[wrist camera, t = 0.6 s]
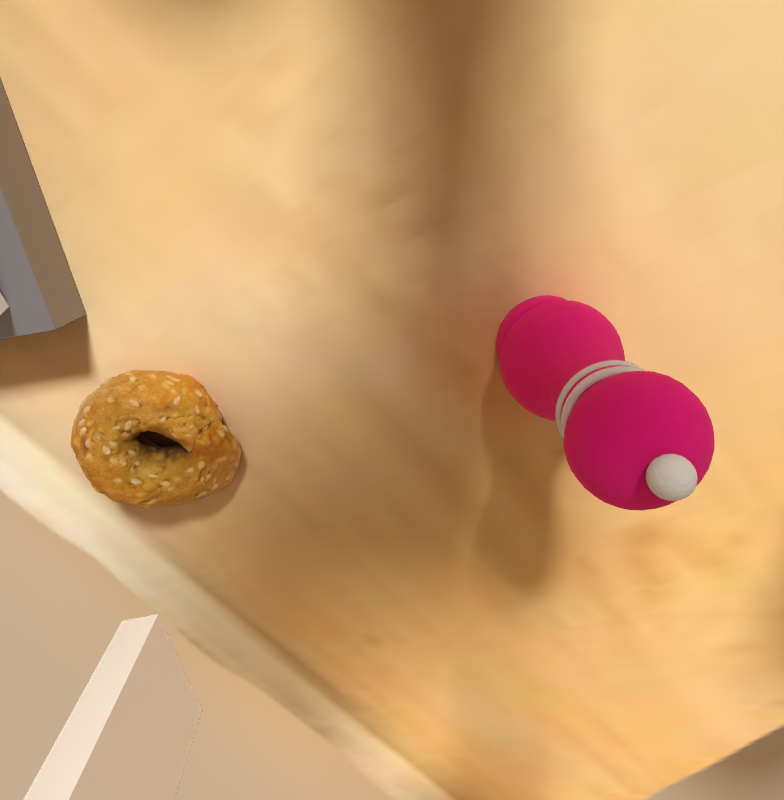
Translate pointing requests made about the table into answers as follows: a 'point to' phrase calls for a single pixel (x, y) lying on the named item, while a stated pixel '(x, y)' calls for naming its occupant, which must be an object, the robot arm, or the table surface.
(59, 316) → the rocker switch panel
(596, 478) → the pepper mill
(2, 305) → the rocker
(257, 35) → the table surface
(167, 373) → the bagel
